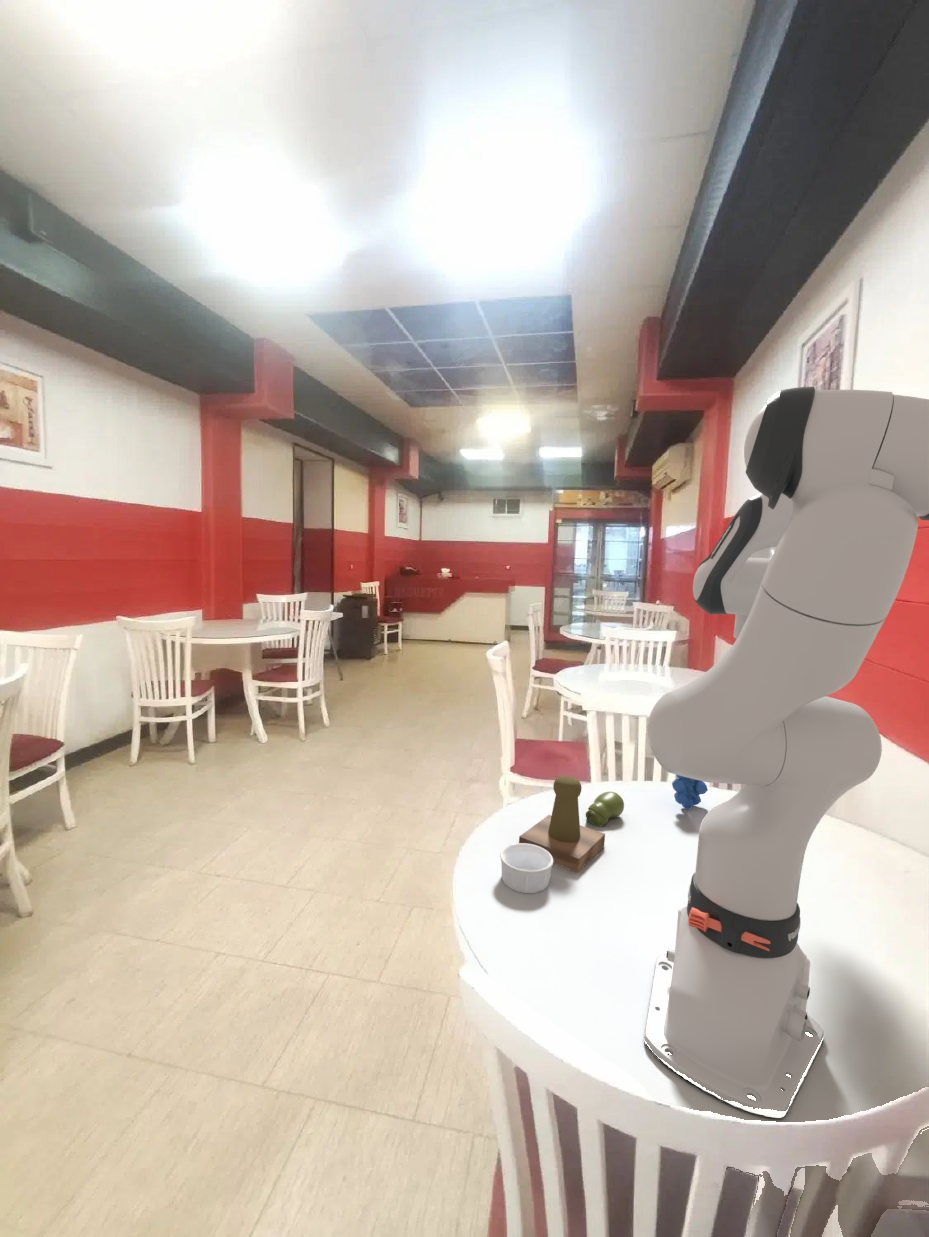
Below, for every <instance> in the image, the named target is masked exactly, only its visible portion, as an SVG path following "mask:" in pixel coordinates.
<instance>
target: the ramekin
mask: <svg viewBox="0 0 929 1237" xmlns="http://www.w3.org/2000/svg"><path fill="white" fill-rule="evenodd" d="M499 857H500V862H501V863H500V864H501V879H502V881H503V883H504V884H505V885H506V886H507V887H508V888H510V889H512V890H513V891H515V892H518V893H522V894H523V893H524V894H536V893H540V892H542V891H544V890H545V889H546V888H547V887H548V886H549V884H550V879H551V872H552V868H553V865H554V863H553V857H552V855H551V854H550V853H549V852H548V851H547V850H545V849H544V848H542V847H539V846H537V845H533V844H527V843H519V842H518V843H512V844H509V845H507V846H505V847H503V849H502V850H501V851H500V854H499Z"/></svg>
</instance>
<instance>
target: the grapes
mask: <svg viewBox="0 0 929 1237" xmlns="http://www.w3.org/2000/svg"><path fill="white" fill-rule="evenodd" d="M676 777H677V778H676V779H674V780H673V781H672V782H671V787H672V788H673V790H674V791H675V793H674V795H673V797H674V799H675V802H676V803H677V804H679V805H681V806H682V808H684V809H685V810H690V809H691V808H692V809H693V807H694V806H697V805H699V804H700V803H701V802H702V799H701V796H700V795H703V794H706V793H707V792H708V787H707V784H706V782H704V781H700V780H695V779H691V778H687V777H684V776H680V775H676Z"/></svg>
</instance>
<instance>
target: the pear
mask: <svg viewBox="0 0 929 1237" xmlns="http://www.w3.org/2000/svg"><path fill="white" fill-rule="evenodd" d="M624 808H625V802H624V800H623V798H622V797H621V795H620V794H619V793H616V792H615V791H606V792H602V793H601V794H599V795H598V796H597V797H596V798H595V799H594V801H593V803H591V804H590V805H589V807H588V808H587V809H588V810H587V811H586V813H585V818H586V822H588V823H590V824H592V825H594V826H596V827H603V826H605V825H606V824H607V823H608V820H609V818H610V819H611V818H612V819H613V818H618V817H620V816H621V815H622V813H623V812H624Z"/></svg>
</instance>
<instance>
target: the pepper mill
mask: <svg viewBox="0 0 929 1237" xmlns="http://www.w3.org/2000/svg"><path fill="white" fill-rule="evenodd" d="M552 786H553V792H554V794H555V798H554V801H553V808H552V812H551V821H550V826H549V831H548V834H549V835H550V836H551V837H552V838H553V839H555V840H558V841H561V842H575V841H578V840H579V839H580V809H579V797H580V796H581V792H582V783H581V782H580V780H579V779H577V778H576V777H573V776H570V775H560V776H557V778H556V779H555V780H554V782H553V785H552Z"/></svg>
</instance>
